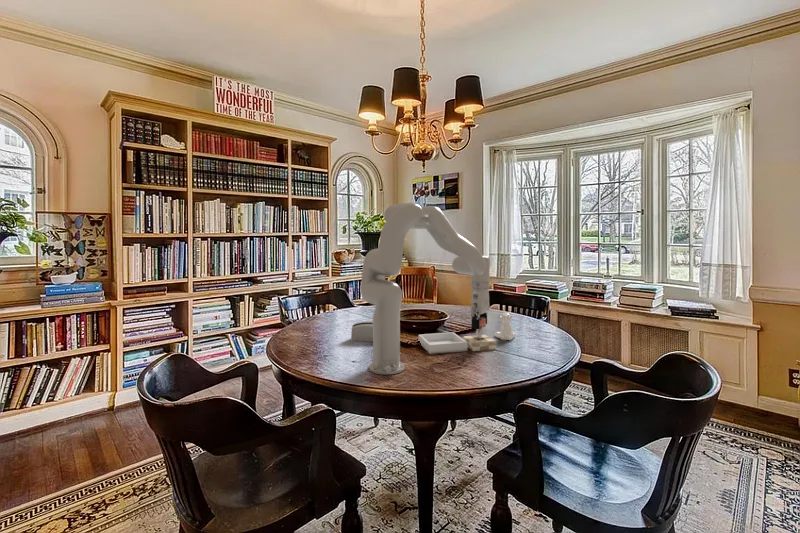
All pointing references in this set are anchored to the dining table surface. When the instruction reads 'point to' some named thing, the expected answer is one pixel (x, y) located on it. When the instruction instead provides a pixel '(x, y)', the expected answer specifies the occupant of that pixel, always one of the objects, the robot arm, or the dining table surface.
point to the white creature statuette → (505, 328)
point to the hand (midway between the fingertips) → (479, 326)
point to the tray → (442, 342)
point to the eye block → (480, 343)
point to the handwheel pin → (480, 328)
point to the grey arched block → (362, 331)
